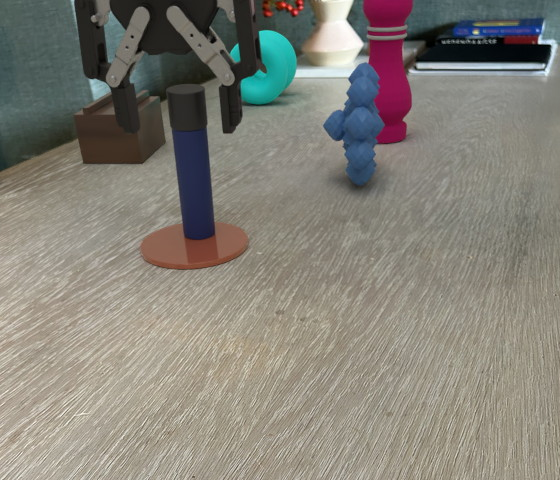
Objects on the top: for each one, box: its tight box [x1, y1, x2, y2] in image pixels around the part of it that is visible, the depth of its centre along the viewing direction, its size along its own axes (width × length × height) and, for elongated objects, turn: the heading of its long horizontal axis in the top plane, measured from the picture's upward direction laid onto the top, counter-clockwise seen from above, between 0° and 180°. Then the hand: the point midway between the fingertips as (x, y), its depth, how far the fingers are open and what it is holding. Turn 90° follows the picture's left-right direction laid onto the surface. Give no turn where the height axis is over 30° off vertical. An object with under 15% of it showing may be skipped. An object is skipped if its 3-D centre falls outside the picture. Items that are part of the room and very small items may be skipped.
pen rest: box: [72, 89, 167, 165], centre depth 88 cm, size 10×8×7 cm
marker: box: [165, 83, 216, 240], centre depth 60 cm, size 13×3×3 cm
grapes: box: [322, 61, 385, 186], centre depth 73 cm, size 12×7×12 cm, turn 171°
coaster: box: [139, 221, 249, 270], centre depth 62 cm, size 10×10×1 cm
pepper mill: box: [362, 0, 414, 144], centre depth 85 cm, size 7×7×20 cm
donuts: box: [229, 29, 298, 106], centre depth 110 cm, size 10×10×10 cm
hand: (180, 131), depth 57 cm, fingers open, 8 cm apart
